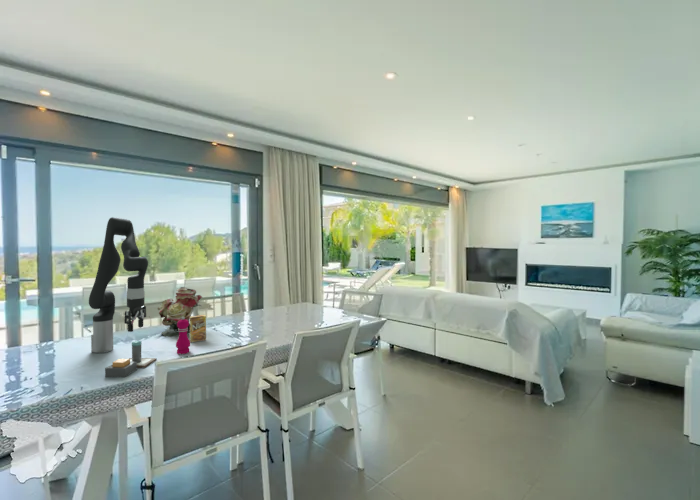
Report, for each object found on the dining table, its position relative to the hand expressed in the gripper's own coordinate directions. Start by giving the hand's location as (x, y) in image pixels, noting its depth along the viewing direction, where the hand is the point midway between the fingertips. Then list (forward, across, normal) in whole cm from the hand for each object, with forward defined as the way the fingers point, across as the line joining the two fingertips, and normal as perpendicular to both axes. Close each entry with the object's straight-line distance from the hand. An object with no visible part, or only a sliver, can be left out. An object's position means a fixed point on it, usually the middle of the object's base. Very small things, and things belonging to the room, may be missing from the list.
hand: (135, 329), depth 175 cm
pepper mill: (+18, -18, +15) cm, 30 cm away
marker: (+16, 0, 0) cm, 17 cm away
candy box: (+18, -40, +14) cm, 46 cm away
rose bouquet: (+18, -61, -6) cm, 64 cm away
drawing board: (+18, 0, 0) cm, 18 cm away
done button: (+16, +12, 0) cm, 20 cm away
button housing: (+18, +12, 0) cm, 21 cm away
